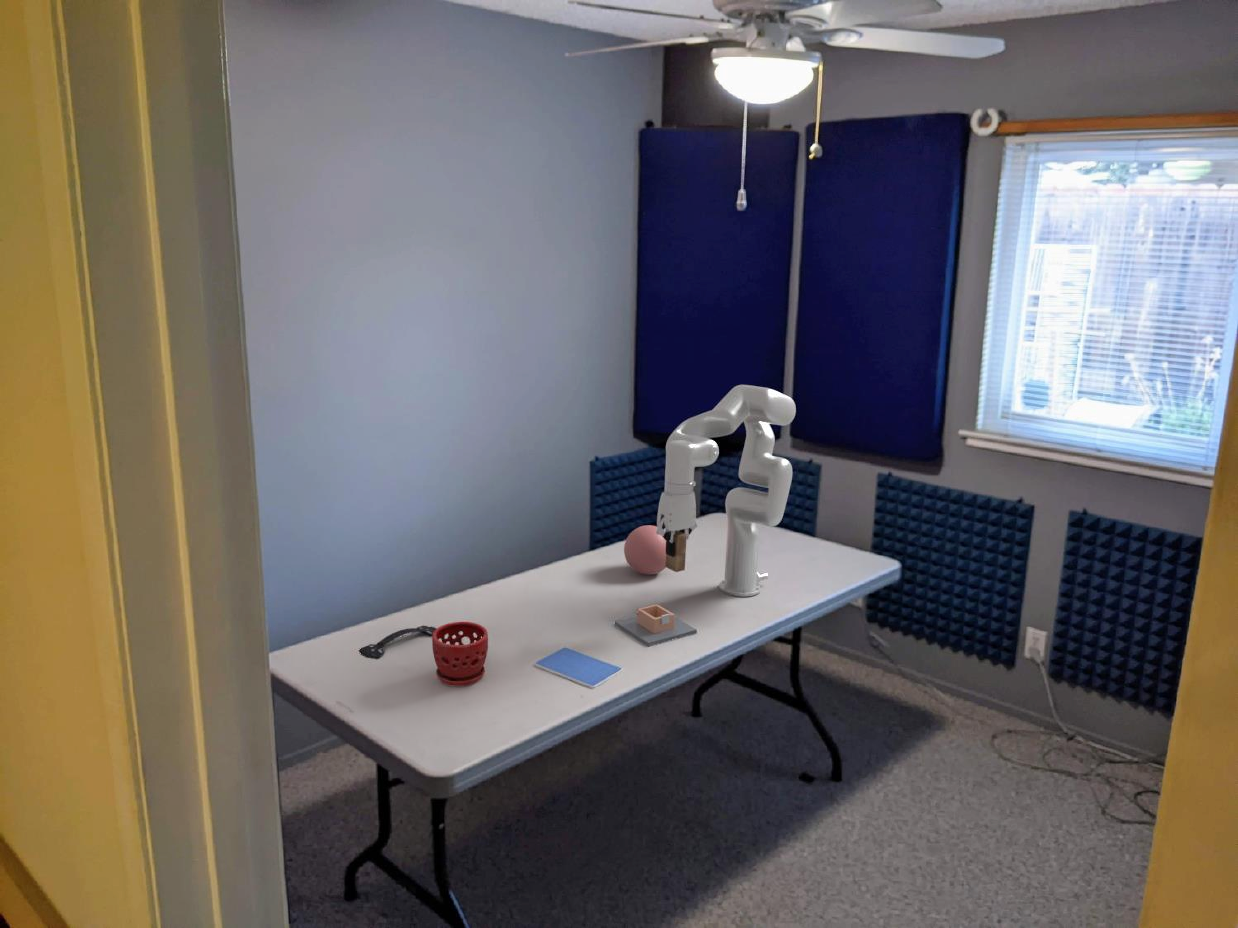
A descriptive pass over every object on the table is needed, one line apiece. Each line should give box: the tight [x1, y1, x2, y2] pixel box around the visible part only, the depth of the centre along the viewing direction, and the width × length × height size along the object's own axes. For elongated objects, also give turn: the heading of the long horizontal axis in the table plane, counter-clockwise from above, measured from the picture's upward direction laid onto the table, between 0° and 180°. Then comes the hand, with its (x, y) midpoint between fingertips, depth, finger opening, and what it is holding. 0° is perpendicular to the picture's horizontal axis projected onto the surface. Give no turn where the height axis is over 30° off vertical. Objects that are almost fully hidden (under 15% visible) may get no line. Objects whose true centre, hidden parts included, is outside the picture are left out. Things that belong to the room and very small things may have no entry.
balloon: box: [623, 524, 667, 576], centre depth 298 cm, size 15×20×15 cm
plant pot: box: [431, 621, 489, 687], centre depth 226 cm, size 13×13×12 cm
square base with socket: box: [614, 603, 698, 647], centre depth 257 cm, size 16×16×6 cm
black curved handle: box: [358, 625, 438, 660], centre depth 246 cm, size 9×25×3 cm, turn 139°
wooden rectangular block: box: [665, 530, 687, 573], centre depth 253 cm, size 3×4×10 cm, turn 36°
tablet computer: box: [533, 647, 624, 690], centre depth 234 cm, size 19×13×1 cm, turn 53°
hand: (675, 553), depth 253 cm, fingers closed on wooden rectangular block, 3 cm apart
